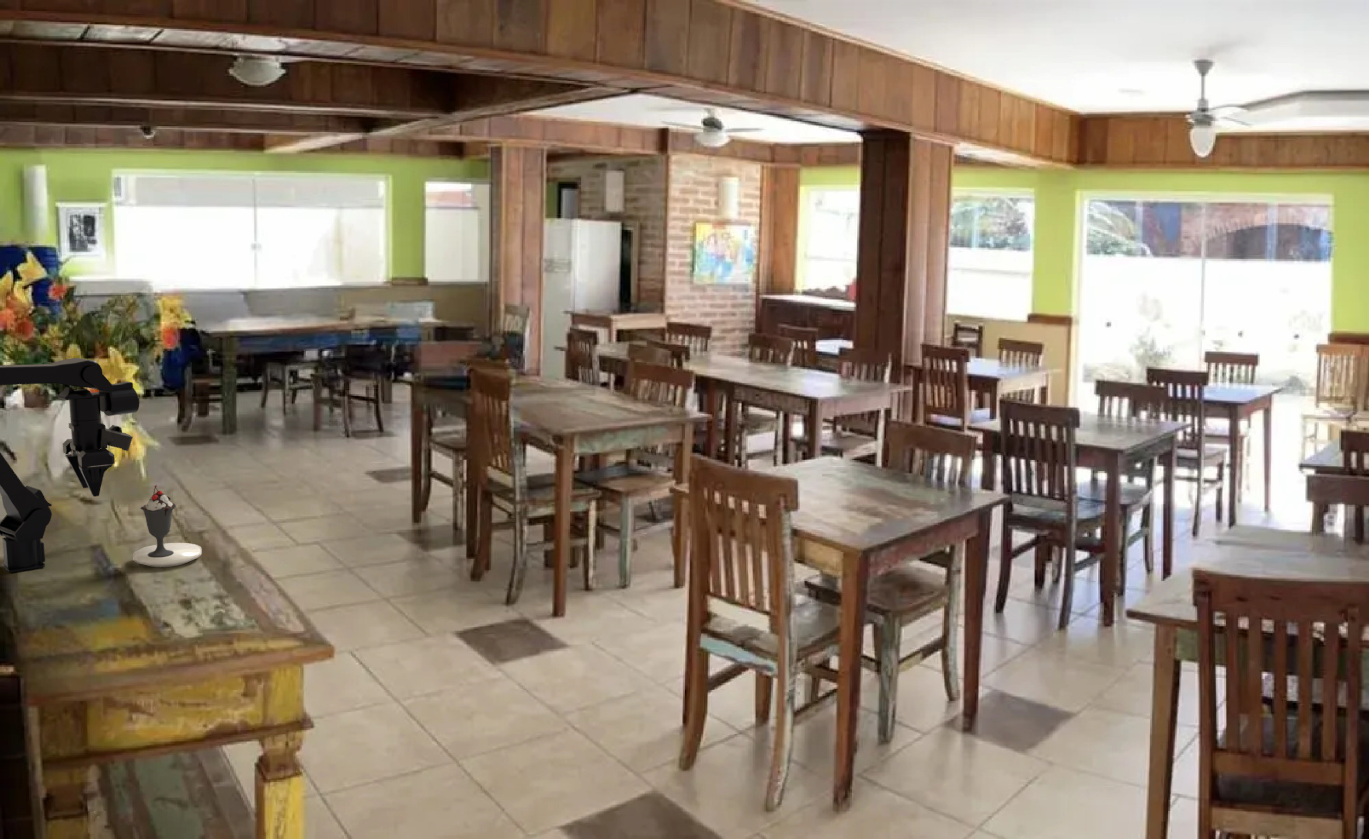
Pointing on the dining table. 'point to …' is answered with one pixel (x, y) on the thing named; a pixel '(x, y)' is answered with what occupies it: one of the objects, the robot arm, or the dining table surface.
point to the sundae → (159, 520)
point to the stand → (180, 556)
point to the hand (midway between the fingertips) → (90, 491)
